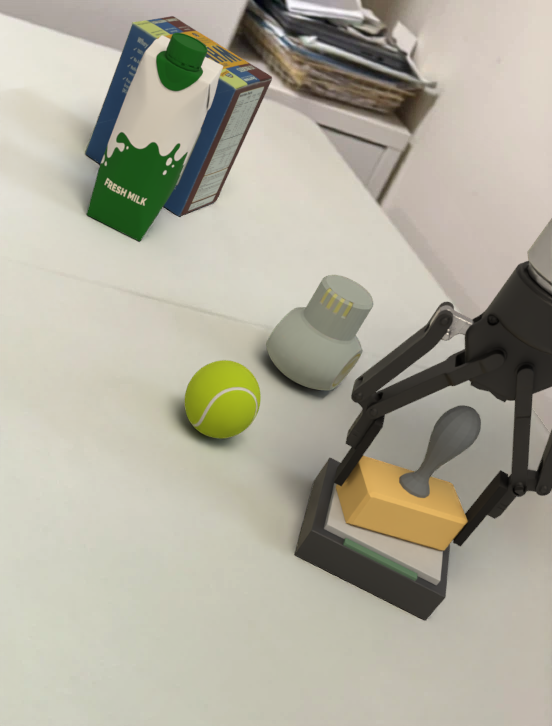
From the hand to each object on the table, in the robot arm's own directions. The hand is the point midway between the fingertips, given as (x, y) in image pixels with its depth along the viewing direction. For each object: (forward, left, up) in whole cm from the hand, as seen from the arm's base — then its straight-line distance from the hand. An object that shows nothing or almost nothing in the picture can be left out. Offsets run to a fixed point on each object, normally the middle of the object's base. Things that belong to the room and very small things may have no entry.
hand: (398, 506), depth 97 cm
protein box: (+37, -56, -5) cm, 67 cm away
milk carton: (+37, -41, -5) cm, 55 cm away
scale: (0, 0, -5) cm, 5 cm away
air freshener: (+11, -26, -5) cm, 29 cm away
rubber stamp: (0, 0, -2) cm, 2 cm away
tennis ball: (+18, -6, -5) cm, 20 cm away
